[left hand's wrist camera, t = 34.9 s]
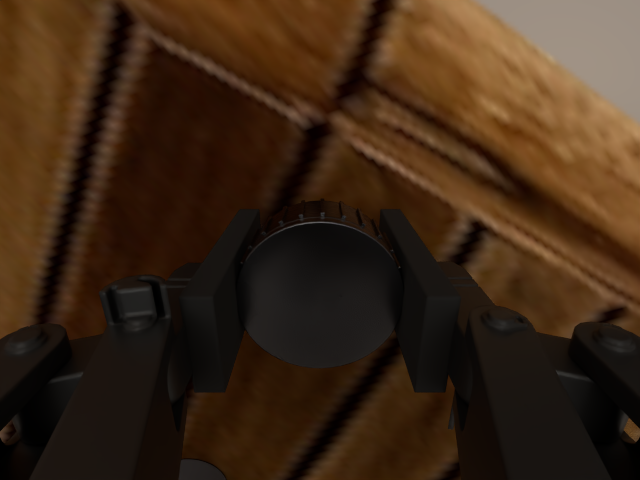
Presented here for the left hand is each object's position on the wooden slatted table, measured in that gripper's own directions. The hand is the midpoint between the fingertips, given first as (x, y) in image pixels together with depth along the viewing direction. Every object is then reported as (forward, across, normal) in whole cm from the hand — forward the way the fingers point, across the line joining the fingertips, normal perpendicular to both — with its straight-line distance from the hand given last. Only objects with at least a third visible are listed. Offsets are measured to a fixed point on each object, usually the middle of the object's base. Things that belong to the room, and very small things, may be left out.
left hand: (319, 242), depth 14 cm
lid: (-4, 0, 0) cm, 4 cm away
